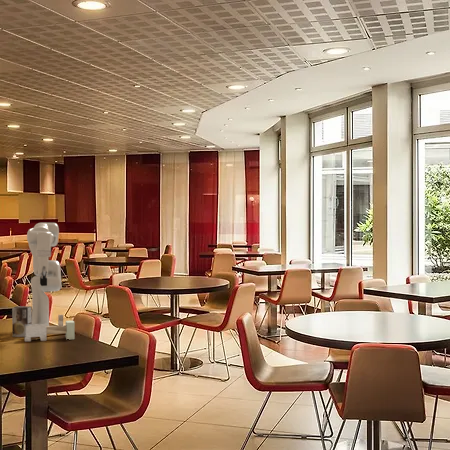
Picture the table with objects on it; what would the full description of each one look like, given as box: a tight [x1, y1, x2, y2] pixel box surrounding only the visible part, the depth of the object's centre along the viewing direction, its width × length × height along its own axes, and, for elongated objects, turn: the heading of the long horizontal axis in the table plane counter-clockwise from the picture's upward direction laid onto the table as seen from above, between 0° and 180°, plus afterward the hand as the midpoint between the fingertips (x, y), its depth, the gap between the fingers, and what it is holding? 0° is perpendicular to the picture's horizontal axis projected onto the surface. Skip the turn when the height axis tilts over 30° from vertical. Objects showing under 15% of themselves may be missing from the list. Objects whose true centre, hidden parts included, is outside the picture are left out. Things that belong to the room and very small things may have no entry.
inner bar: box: [47, 314, 67, 335], centre depth 357 cm, size 4×17×10 cm, turn 108°
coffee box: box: [11, 305, 32, 338], centre depth 367 cm, size 9×6×16 cm
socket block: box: [65, 320, 76, 340], centre depth 360 cm, size 8×4×9 cm, turn 18°
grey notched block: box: [24, 324, 48, 342], centre depth 354 cm, size 8×11×8 cm
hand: (43, 285), depth 366 cm, fingers open, 9 cm apart
